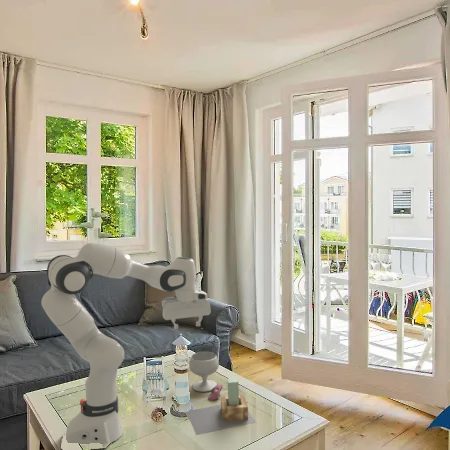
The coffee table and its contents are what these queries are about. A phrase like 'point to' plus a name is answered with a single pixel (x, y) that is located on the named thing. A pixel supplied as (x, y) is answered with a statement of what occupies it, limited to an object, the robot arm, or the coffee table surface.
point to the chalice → (204, 369)
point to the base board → (213, 420)
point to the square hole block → (234, 409)
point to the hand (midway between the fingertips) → (187, 327)
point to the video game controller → (215, 392)
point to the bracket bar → (233, 392)
